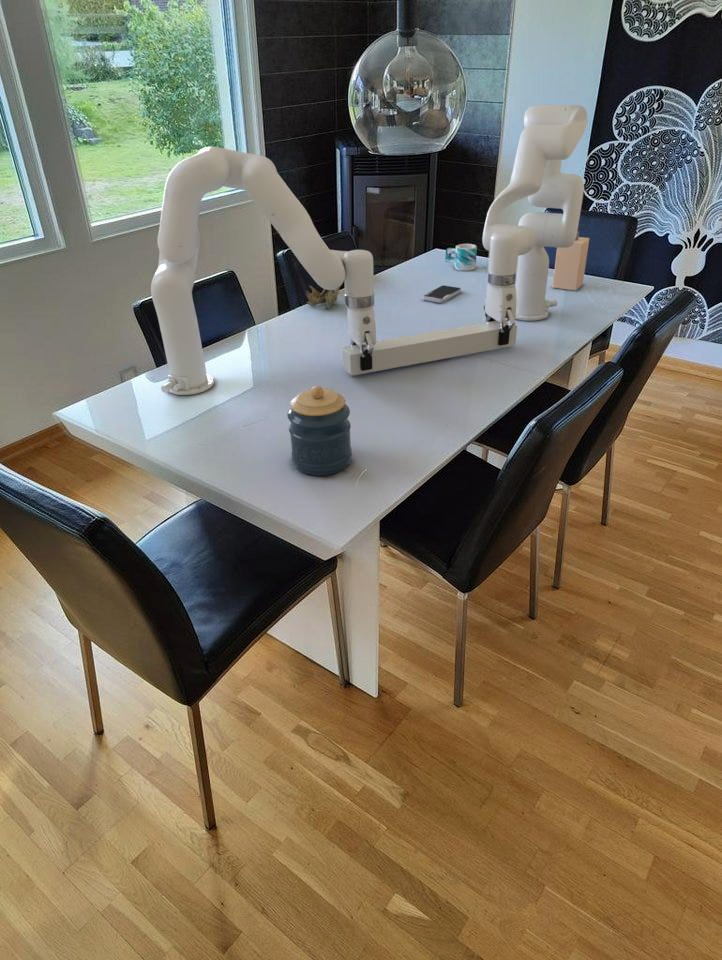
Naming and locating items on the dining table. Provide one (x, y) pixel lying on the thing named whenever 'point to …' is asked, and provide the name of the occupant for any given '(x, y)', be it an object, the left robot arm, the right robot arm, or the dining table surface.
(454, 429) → the dining table surface
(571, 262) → the tan upright block
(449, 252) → the mug
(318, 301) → the jawbone
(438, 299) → the smartphone
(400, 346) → the beam
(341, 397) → the canister
